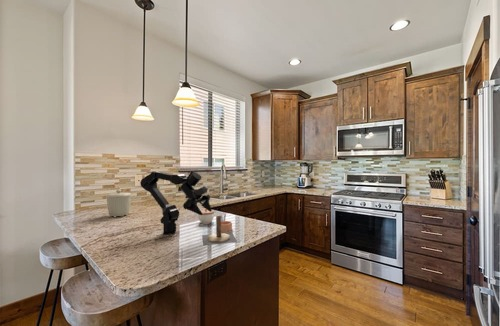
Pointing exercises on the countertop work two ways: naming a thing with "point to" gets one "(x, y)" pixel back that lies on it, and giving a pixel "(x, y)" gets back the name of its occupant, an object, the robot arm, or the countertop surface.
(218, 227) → the disc with tall peg
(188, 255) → the countertop surface
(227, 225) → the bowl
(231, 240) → the mat
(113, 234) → the countertop surface
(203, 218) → the lidded jar
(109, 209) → the canister
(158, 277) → the countertop surface
